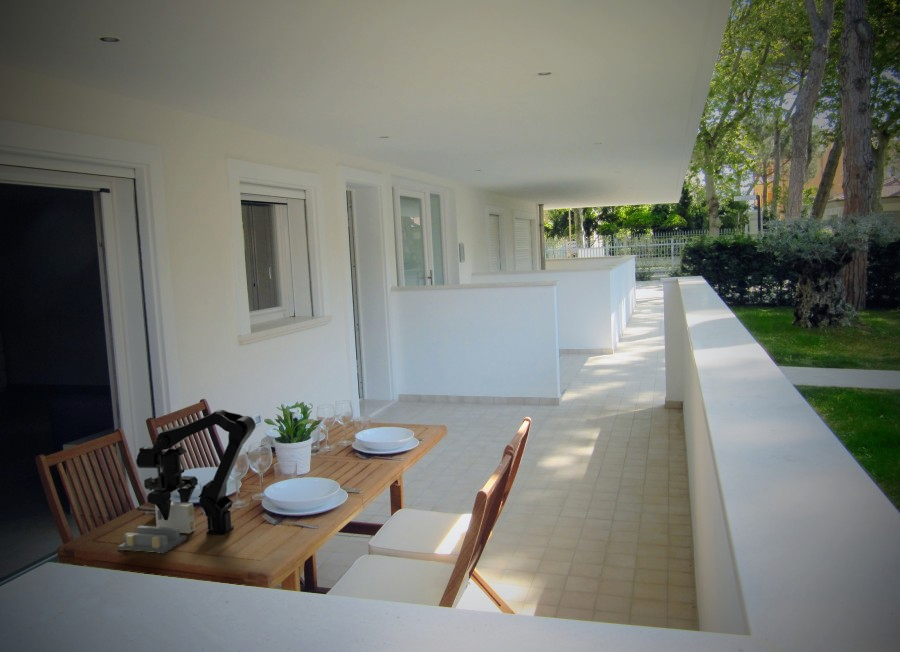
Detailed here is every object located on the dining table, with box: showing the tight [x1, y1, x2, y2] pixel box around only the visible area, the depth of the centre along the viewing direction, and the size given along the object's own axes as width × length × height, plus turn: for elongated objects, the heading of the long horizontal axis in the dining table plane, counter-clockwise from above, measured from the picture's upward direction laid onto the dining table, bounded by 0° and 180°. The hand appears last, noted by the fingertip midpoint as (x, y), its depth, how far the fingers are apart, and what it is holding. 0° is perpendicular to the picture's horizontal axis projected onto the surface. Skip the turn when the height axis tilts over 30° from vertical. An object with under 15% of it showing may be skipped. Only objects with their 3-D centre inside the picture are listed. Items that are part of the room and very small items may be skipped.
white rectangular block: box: [154, 501, 196, 534], centre depth 226 cm, size 13×4×9 cm, turn 76°
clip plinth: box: [117, 525, 187, 554], centre depth 215 cm, size 16×11×4 cm
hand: (175, 514), depth 226 cm, fingers open, 9 cm apart
